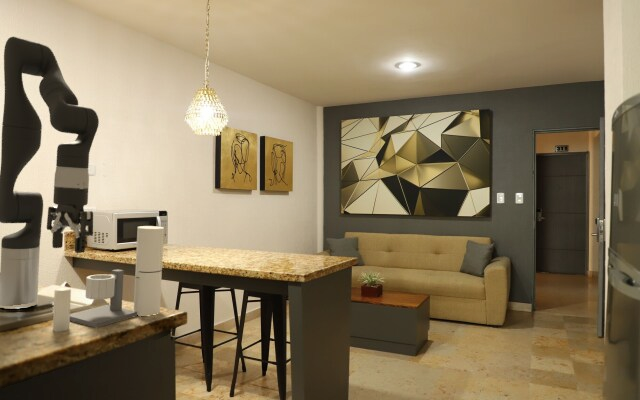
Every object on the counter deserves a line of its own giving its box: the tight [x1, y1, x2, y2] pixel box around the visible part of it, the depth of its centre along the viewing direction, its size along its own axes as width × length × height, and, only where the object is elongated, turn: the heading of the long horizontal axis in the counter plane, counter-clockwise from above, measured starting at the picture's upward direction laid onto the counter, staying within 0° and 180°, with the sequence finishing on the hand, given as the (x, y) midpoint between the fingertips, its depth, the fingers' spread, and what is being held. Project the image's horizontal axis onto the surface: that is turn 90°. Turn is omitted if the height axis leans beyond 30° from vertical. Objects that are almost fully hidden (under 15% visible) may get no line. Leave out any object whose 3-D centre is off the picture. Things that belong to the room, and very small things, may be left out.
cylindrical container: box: [133, 225, 165, 317], centre depth 130 cm, size 7×7×25 cm
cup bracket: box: [70, 268, 138, 329], centre depth 124 cm, size 12×13×12 cm
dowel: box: [52, 287, 72, 333], centre depth 113 cm, size 4×4×10 cm
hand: (68, 250), depth 113 cm, fingers open, 8 cm apart
